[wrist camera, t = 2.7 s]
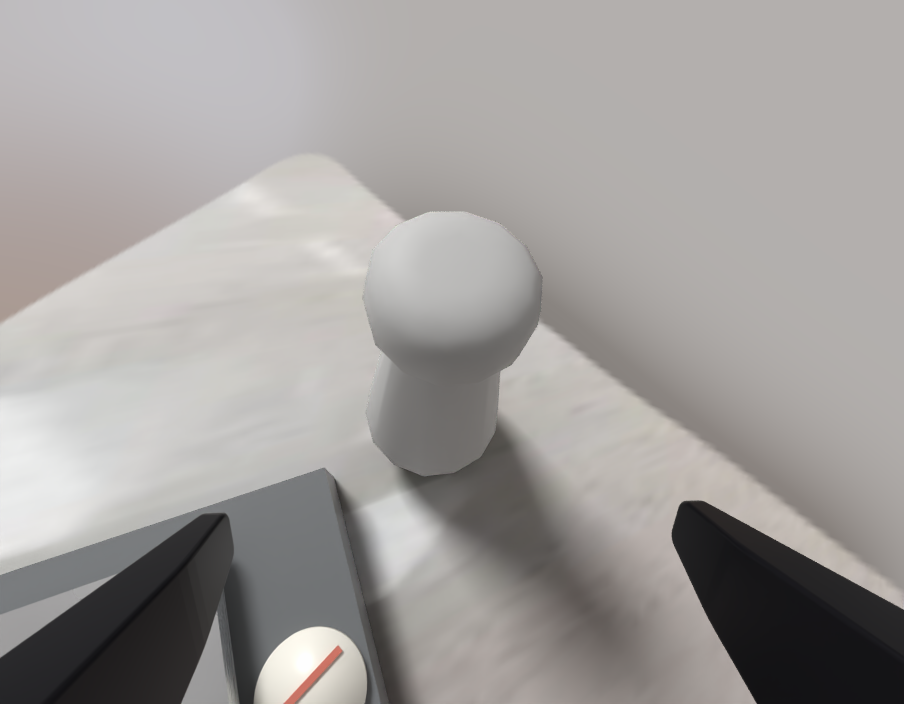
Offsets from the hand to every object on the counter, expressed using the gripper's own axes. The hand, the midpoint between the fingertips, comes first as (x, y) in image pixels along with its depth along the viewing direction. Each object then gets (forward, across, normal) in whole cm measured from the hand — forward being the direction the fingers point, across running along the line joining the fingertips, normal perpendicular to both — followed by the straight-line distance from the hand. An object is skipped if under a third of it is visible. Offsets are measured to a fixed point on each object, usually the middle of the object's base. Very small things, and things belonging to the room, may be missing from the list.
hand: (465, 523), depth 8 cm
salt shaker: (+12, 0, +5) cm, 13 cm away
